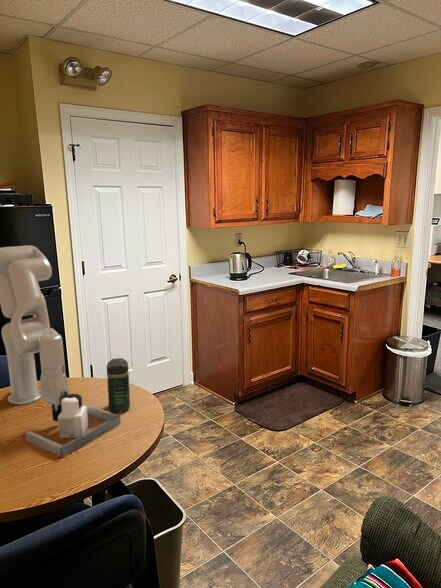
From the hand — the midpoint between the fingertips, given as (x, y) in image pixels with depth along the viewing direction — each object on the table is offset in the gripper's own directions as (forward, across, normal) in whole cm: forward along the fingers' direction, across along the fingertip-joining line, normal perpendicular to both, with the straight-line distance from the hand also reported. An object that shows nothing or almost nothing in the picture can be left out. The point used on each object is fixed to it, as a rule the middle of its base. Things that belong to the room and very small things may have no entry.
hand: (58, 419), depth 155 cm
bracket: (+2, +9, 0) cm, 10 cm away
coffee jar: (+3, +8, +21) cm, 23 cm away
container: (+3, +8, 0) cm, 9 cm away
